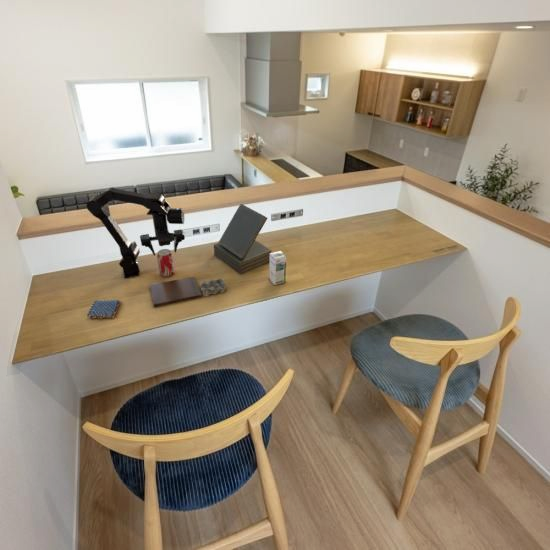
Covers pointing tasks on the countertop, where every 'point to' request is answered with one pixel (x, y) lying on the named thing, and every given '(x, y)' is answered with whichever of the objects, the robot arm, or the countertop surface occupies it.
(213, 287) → the grey lumpy block
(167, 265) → the soda can
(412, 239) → the countertop surface
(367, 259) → the countertop surface
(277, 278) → the milk carton
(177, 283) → the cutting board
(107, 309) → the woven mat
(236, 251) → the dark grey display stand
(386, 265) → the countertop surface
